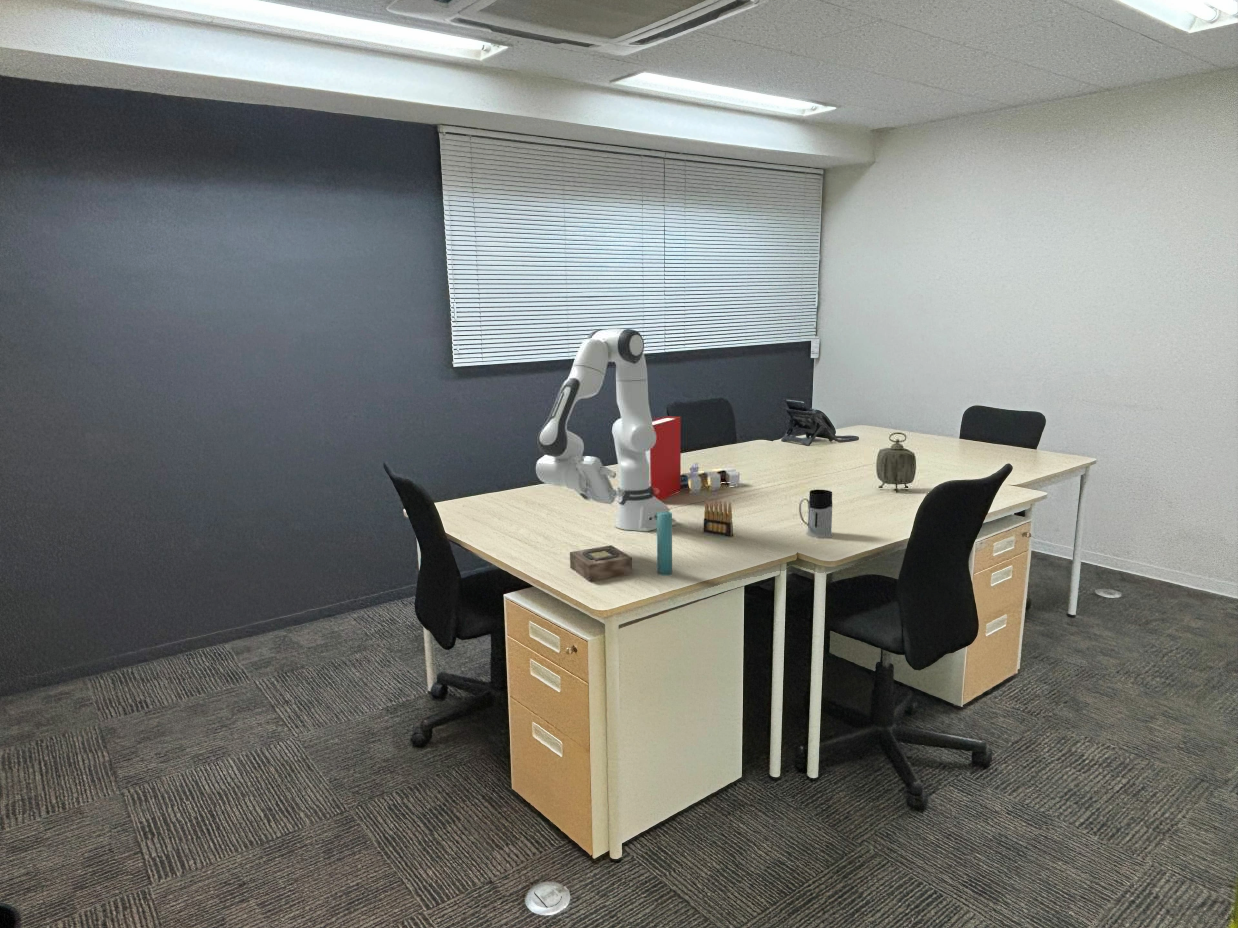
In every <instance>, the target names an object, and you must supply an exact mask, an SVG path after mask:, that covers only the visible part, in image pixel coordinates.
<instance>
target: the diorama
mask: <svg viewBox="0 0 1238 928" xmlns="http://www.w3.org/2000/svg"><path fill="white" fill-rule="evenodd" d="M699 469H700V467H699V464H698V462H695V464H694V465H692V466H691V467H689V471H690V472H685V473H681V489H683V490H686V489H685V488H689V489H690V491H689V494H694V493H693V492H697V493H700V492H701V490H702V487H701V486H704V487H706V486H705V485H711V486H709V489H708V490H711V491H714V490H713V489H718V490H720V488H721V484H720V483H721V482H730V484H728V487H730V486H736V485H738V486H739V485H740V473H739V471H737V470H736V469H735V468H733V467H724V468H716V469H709V470H699Z"/></svg>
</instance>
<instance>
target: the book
mask: <svg viewBox="0 0 1238 928" xmlns="http://www.w3.org/2000/svg"><path fill="white" fill-rule="evenodd" d="M681 420H682V419H681V416H672V415H662V416H659V417H656V418H652V424H653V428H654V431H655V433H656V443H655V445H654V446H653V447H652V448H651V449H650V450H648V451H646V457H647V461H648V463H649V486H650V487H652V488H657V489H658V491H659V493H658V494H655V493H653V494H654V497H656V498H657V499H659V500H660V501H663V500H665V499H666V497H667V498H668V496H669V497H671V496H673V495H675V494H677V493H676V492H678V493H680V492H682V491H681V475H682V473H681V470H682V466H681V463H682V462H681V461H682V460H681V459H682V458H681V457H682V456H681V451H682V450H681V445H682V441H681V433H682V431H681V426H682V425H681ZM679 491H680V492H679ZM674 493H675V494H674ZM672 494H673V495H672ZM670 495H671V496H670Z"/></svg>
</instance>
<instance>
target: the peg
mask: <svg viewBox="0 0 1238 928" xmlns="http://www.w3.org/2000/svg"><path fill="white" fill-rule="evenodd" d="M672 518H673V513H672V512H671V511H669V512H658V513H657V529H656V548H657V549H656V555H657V556H656V558H657V559H656V560H657V561H656V565H657V566H656V568H657V569H656V571H657V572H656V573H657V574H658V575H663V576H665V575H671V574H672V573H673V525H672Z"/></svg>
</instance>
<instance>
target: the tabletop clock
mask: <svg viewBox="0 0 1238 928" xmlns="http://www.w3.org/2000/svg"><path fill="white" fill-rule="evenodd" d="M894 435H902V436H904V439H903V440H900V439H899V438H896V440H893V439H892V438H891V437H893V436H894ZM888 439H889V440H890V441H891V442H893V443H892V444H891V446H890V447H886V448H881V449H879V451H878V453H877V457H876V464H875V465H876V466H875V468H876V469H875V471H876V476H877V479H878V480H879V481H880V482H881V483H882V484H881V485H879V486H878V489H879V488H882V489H883V488H884V487H883V486H885V484H887V485H895V489H894V490H895V491H898V492H899V488H898V485H904V489H905V488H908V489H909V488H910V487H909V486H908V485H909V484H911V483H913V482H914V480H915V477H916V471H917V457H916V454H915V452H913V451H911V450H910V449H907V448H905V447H904V446H903V444H902V443H903V442H905V441H907V435H906V434H905V433H903V432H892V433H891V434H889V437H888ZM895 491H894V492H895Z"/></svg>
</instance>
